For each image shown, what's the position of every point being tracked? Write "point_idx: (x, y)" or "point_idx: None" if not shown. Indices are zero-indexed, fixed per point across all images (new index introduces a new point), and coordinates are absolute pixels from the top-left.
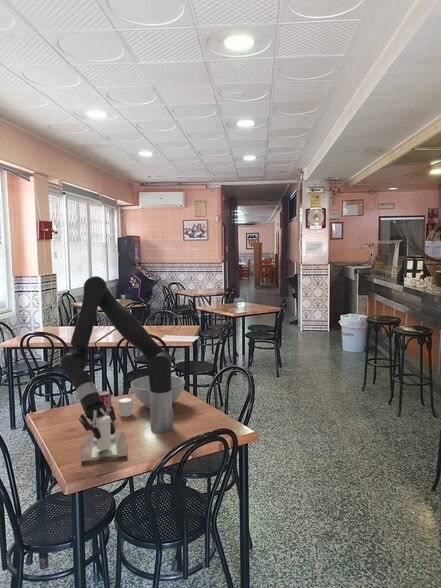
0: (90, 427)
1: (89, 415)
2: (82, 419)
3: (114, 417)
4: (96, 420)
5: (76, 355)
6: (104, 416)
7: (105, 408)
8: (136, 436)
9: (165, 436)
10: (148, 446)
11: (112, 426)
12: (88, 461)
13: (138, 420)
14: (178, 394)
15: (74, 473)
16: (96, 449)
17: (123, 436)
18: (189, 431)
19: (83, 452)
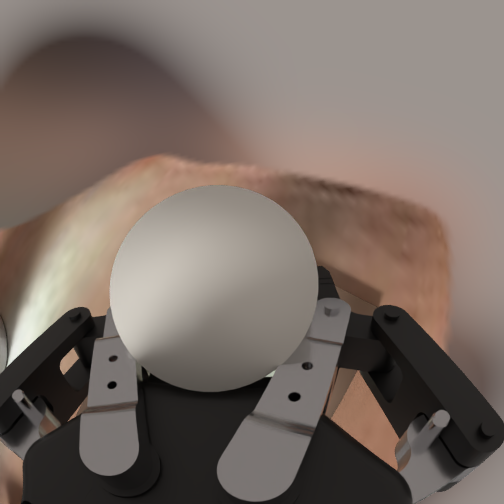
0: (381, 307)
1: (369, 454)
2: (471, 397)
3: (64, 322)
4: (316, 296)
5: None
6: (152, 332)
7: (38, 448)
8: None
9: (10, 285)
10: (77, 262)
11: None
12: (353, 297)
13: (5, 465)
14: None
15: (418, 265)
16: (269, 376)
17: (87, 401)
18: None
19: (335, 398)
